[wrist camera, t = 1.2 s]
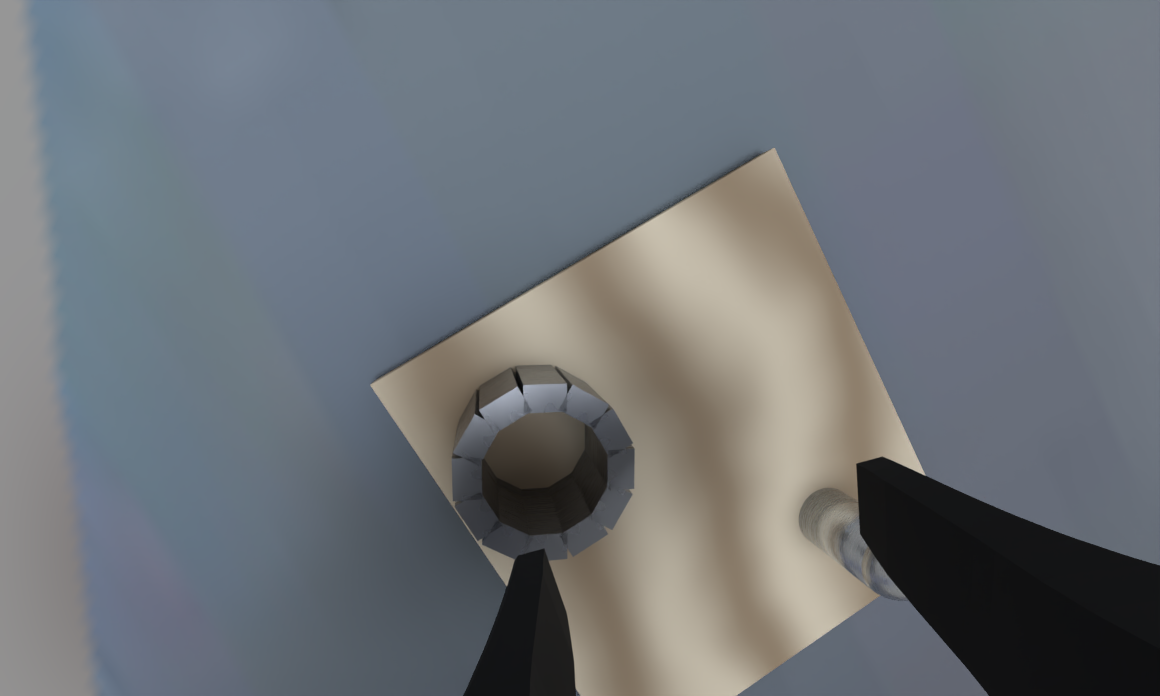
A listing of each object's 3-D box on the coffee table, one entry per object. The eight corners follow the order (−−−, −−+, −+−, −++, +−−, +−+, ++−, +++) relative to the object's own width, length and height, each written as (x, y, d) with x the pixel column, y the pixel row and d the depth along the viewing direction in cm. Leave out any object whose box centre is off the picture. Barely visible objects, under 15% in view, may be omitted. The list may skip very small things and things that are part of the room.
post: (813, 555, 24) (905, 630, 19) (789, 508, 23) (876, 572, 18) (861, 523, 24) (964, 588, 19) (837, 476, 24) (937, 530, 18)
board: (624, 749, 25) (630, 769, 24) (375, 380, 21) (370, 385, 20) (938, 532, 26) (956, 542, 25) (761, 153, 22) (774, 147, 21)
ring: (508, 537, 21) (514, 594, 17) (427, 416, 20) (414, 448, 16) (632, 459, 22) (664, 497, 18) (560, 337, 21) (579, 349, 17)
